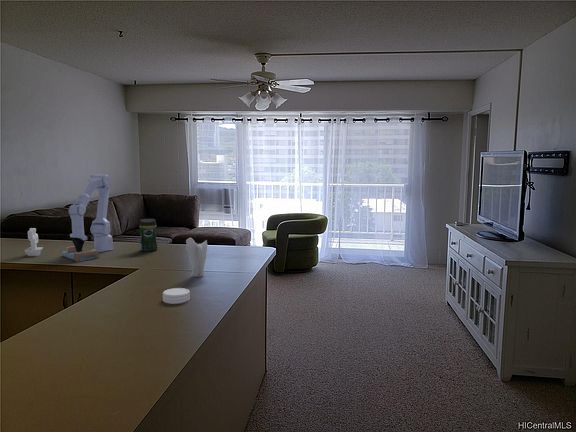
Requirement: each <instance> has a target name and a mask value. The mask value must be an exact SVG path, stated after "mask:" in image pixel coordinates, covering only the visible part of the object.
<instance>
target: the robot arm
mask: <svg viewBox="0 0 576 432" xmlns="http://www.w3.org/2000/svg"><path fill="white" fill-rule="evenodd" d="M111 180H112V179H111V177H110V175H109V174H96V173H92V174H91V175H90V177H89V178H88V184H87V186H86V188H85V190H84V192H83V193H80V194H79V195H78V197H77V199H76V200H75V202H74V203H73V204H71V205H70V206H69V208H68V215H69V217H70V219H71V231H72V233H70V234H69V237H70V238H72V239H71V242H72V243H73V246H75V248H76V251H77V252H82V250H83V247H84V244H85V242H86V241H88V236H86V234H85V226H84V215H85V214H86V213H87V212H86V211H87V205H88V204H89V203H90V201H91V196H92V194H93V193H94V191H96V190H97V191H98V198H97V199H98V200H97V208H96V209H97V210H96V218H95V219H94V220H92V222H91V226H90V230H89V231H90V234H92V236H93V241H94V242H93V244H94V248H93V249H91V251H92V250H98V251H99V253H102V252H108V251H109V252H110V251H113V250H114V244H113V236H112V235H111V234H110V233H111V231H112V230H111V229H112V228H111V222H110V221H109V220H108V219H107V216H108V206H109V195H110V189H111ZM114 251H115V250H114Z"/></svg>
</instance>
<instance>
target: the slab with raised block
mask: <svg viewBox="0 0 576 432" xmlns="http://www.w3.org/2000/svg"><path fill="white" fill-rule="evenodd" d="M82 251H84V250H83V249H82ZM72 252H77V251H76V248H75V245H72V246H66V248H65V251H61V256H62V257H65V258H67V253H72Z"/></svg>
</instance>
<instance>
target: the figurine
mask: <svg viewBox="0 0 576 432" xmlns="http://www.w3.org/2000/svg"><path fill="white" fill-rule="evenodd" d="M36 232H37V228H35V227H33V228H32V227H30V228H29V230H28V231H27V239H28V241H30V247H28V248H26V249H24V250H23V251H24V252H25V254H26V255H27V256H28V257H38V256H39V255H41V253H42V251H43V249H44V247H41V246H39V247H38V245H37V244H38V243H39V234H38V233H36Z"/></svg>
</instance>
